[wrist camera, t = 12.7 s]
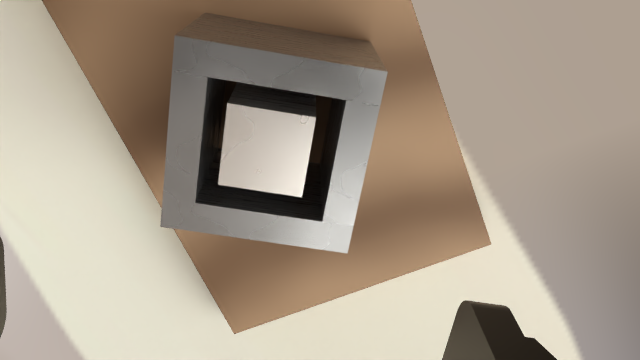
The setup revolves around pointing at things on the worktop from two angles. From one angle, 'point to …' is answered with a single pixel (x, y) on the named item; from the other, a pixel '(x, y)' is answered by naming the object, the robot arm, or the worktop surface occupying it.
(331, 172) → the hollow metal block
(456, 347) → the robot arm
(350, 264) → the walnut base
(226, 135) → the square post
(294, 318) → the worktop surface
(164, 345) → the worktop surface
